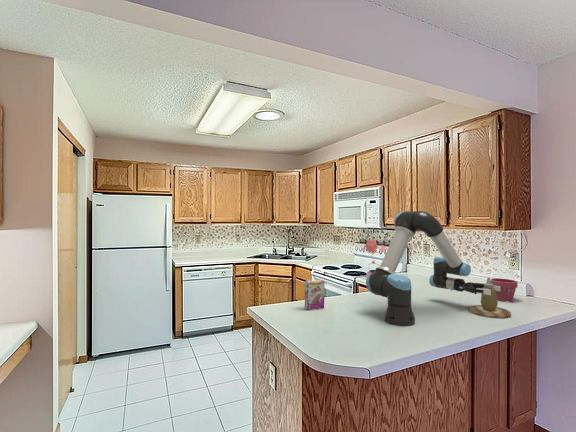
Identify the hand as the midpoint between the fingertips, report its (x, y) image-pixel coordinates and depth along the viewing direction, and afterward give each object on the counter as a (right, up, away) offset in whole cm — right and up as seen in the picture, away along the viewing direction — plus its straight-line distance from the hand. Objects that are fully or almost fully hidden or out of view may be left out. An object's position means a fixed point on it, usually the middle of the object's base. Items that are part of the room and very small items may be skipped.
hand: (495, 290), depth 175 cm
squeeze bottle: (-2, -12, +3) cm, 12 cm away
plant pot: (+25, -13, +29) cm, 41 cm away
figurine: (-43, -14, +99) cm, 108 cm away
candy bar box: (-99, -14, +13) cm, 101 cm away
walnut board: (-2, -13, +3) cm, 13 cm away
